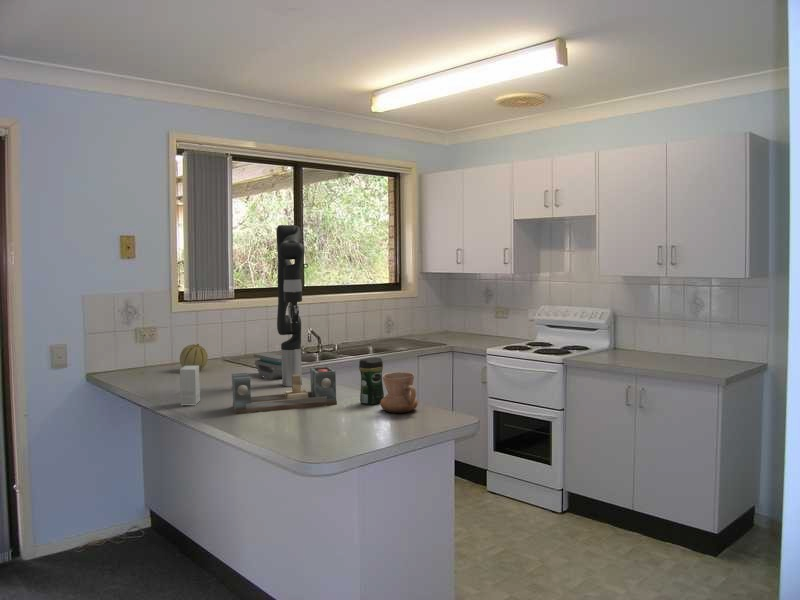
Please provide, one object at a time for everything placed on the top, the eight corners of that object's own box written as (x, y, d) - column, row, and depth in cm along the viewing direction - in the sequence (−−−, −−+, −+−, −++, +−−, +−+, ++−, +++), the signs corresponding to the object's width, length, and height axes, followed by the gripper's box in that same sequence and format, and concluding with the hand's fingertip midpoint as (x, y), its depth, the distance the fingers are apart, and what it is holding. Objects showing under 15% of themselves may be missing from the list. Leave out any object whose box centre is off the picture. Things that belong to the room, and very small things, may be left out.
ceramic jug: (371, 409, 249) (370, 373, 248) (401, 403, 258) (400, 369, 256) (398, 419, 235) (397, 381, 233) (429, 412, 243) (428, 376, 242)
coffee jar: (375, 399, 267) (374, 355, 266) (387, 402, 261) (386, 357, 260) (356, 403, 261) (355, 358, 260) (367, 406, 255) (366, 360, 254)
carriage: (285, 398, 263) (284, 374, 263) (304, 396, 266) (303, 372, 265) (288, 402, 256) (287, 377, 255) (308, 400, 258) (307, 376, 258)
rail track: (232, 406, 259) (231, 373, 259) (329, 397, 272) (328, 366, 272) (235, 414, 246) (234, 379, 245) (336, 404, 259) (336, 371, 258)
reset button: (317, 379, 265) (316, 369, 265) (326, 378, 266) (326, 368, 266) (319, 380, 261) (318, 371, 261) (328, 379, 263) (328, 370, 262)
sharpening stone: (254, 374, 332) (253, 354, 331) (267, 372, 337) (267, 352, 337) (278, 381, 313) (278, 359, 313) (292, 378, 318) (292, 357, 318)
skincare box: (185, 402, 269) (183, 365, 268) (201, 401, 270) (199, 365, 269) (180, 406, 261) (178, 369, 260) (196, 406, 262) (195, 368, 261)
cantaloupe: (183, 369, 353) (182, 342, 352) (210, 368, 355) (209, 341, 354) (177, 374, 339) (175, 346, 338) (205, 373, 340) (204, 345, 339)
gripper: (281, 290, 271) (282, 330, 272) (286, 291, 258) (287, 334, 259) (298, 289, 273) (300, 329, 274) (304, 290, 261) (305, 332, 262)
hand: (294, 331), depth 267 cm, fingers closed
